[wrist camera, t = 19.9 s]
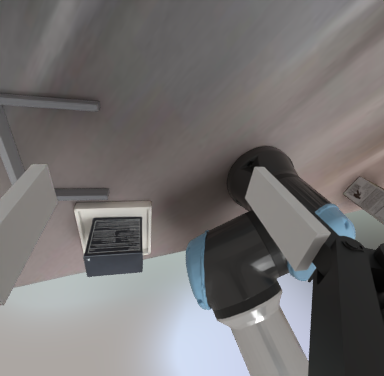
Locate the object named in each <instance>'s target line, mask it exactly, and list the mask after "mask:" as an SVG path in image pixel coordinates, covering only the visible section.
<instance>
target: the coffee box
mask: <svg viewBox="0 0 384 376" xmlns="http://www.w3.org/2000/svg"><path fill="white" fill-rule="evenodd" d="M343 195H345V196H346V197H347V198H349V199H350V200H351V201H353V202H354V203H355V204H357V205H358V206H359V207H361V208H362V209H363V210H365V211H366V212H368V213H369V214H370V215H372V216H373V217H374V218H376V219H377V220H378V221H379V222H381V223H382V224H384V189H383V188H381V187H379V186H377V185H376V184H374V183H372V182H370V181H368V180H366V179H364V178H362V177H359V178H358V179H357V180H356V181H355V182H354V183H353V184H352V185H351V186H350V187H349V188H348V189H347V190H346V191H345V192H344V193H343Z"/></svg>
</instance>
